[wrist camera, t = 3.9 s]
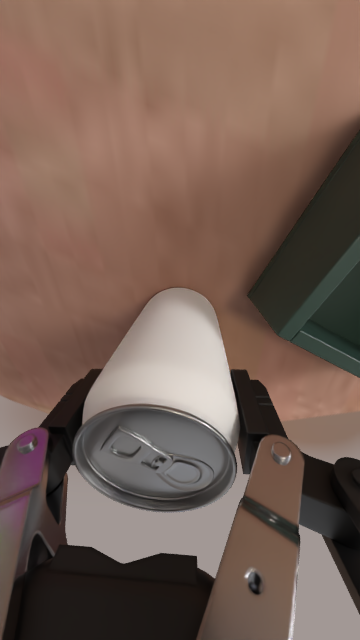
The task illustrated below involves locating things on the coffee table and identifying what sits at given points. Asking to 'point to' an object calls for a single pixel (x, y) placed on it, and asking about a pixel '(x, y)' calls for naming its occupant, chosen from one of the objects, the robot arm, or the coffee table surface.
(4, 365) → the coffee table surface
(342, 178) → the bin
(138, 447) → the can
